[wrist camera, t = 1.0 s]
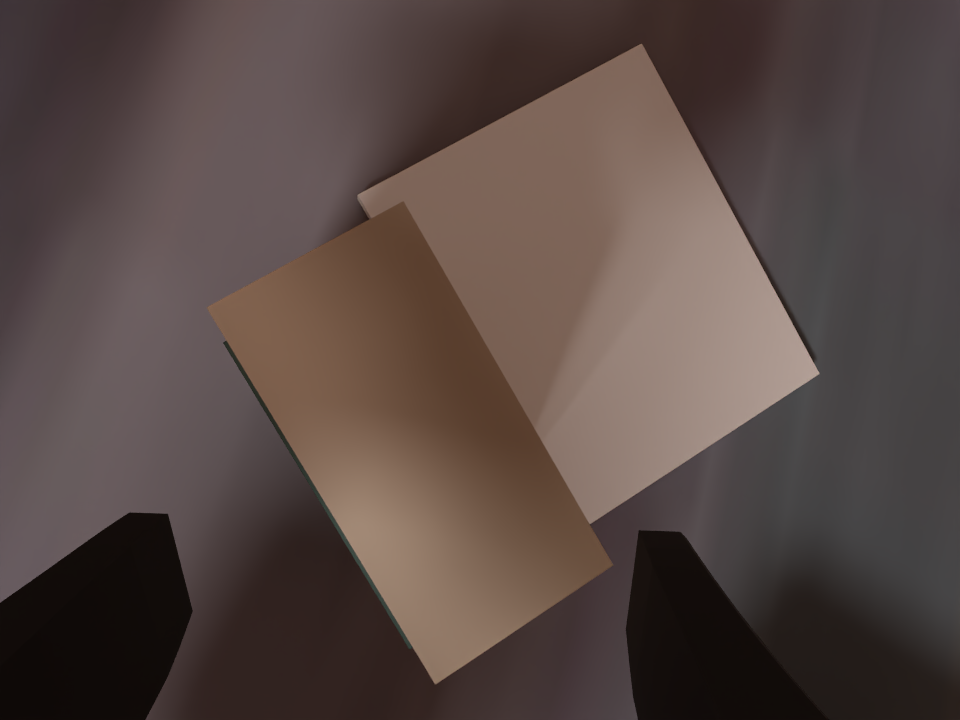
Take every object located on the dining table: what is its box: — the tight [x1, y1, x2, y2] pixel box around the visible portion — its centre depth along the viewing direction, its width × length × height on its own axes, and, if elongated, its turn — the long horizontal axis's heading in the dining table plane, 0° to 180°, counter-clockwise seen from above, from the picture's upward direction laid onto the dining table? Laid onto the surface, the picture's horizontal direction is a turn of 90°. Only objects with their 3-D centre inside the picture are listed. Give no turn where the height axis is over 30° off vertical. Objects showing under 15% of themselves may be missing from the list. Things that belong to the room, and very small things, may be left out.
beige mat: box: [358, 44, 819, 524], centre depth 24 cm, size 11×13×1 cm
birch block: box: [207, 201, 613, 685], centre depth 18 cm, size 4×8×10 cm, turn 30°
